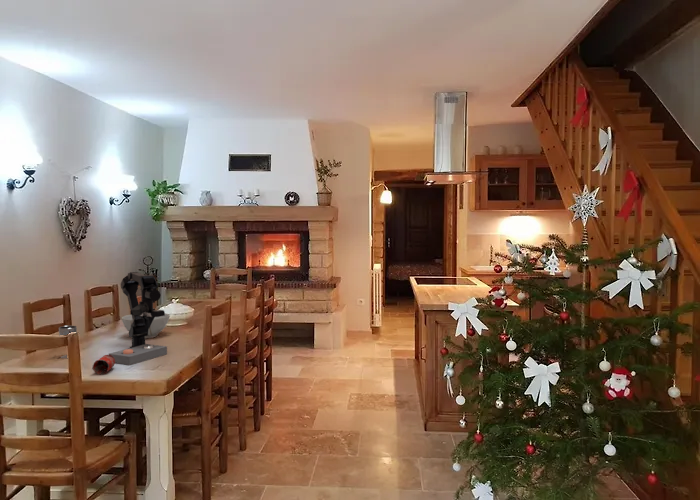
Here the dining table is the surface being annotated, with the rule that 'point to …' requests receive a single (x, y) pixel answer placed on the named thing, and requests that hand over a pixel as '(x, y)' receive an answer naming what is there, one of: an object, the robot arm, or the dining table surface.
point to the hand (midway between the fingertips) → (147, 328)
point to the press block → (139, 354)
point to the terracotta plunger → (128, 351)
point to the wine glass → (67, 332)
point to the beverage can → (103, 364)
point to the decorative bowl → (156, 324)
